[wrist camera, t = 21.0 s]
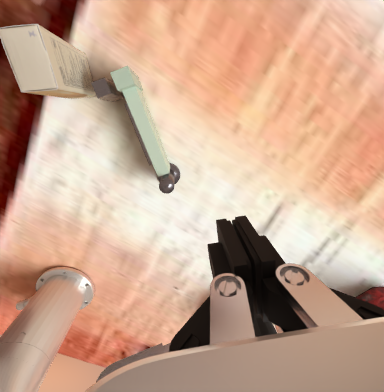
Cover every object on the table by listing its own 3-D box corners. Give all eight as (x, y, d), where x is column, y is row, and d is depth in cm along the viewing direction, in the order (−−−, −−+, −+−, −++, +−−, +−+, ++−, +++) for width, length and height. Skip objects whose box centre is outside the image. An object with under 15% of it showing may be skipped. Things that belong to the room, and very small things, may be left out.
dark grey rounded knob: (162, 187, 41) (158, 202, 34) (153, 167, 39) (148, 178, 32) (183, 181, 41) (184, 194, 34) (175, 160, 39) (174, 169, 32)
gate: (171, 165, 39) (170, 174, 32) (159, 169, 39) (155, 179, 33) (137, 75, 33) (127, 65, 27) (123, 81, 34) (110, 72, 27)
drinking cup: (230, 307, 54) (257, 408, 35) (250, 288, 52) (290, 384, 33) (251, 319, 56) (287, 419, 37) (271, 301, 54) (319, 398, 35)
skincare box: (58, 56, 32) (-7, 23, 21) (86, 53, 32) (36, 18, 21) (71, 101, 35) (19, 93, 23) (97, 98, 35) (57, 89, 23)
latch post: (141, 167, 39) (133, 177, 33) (107, 89, 34) (90, 82, 28) (154, 162, 39) (150, 171, 33) (123, 83, 34) (109, 75, 28)
